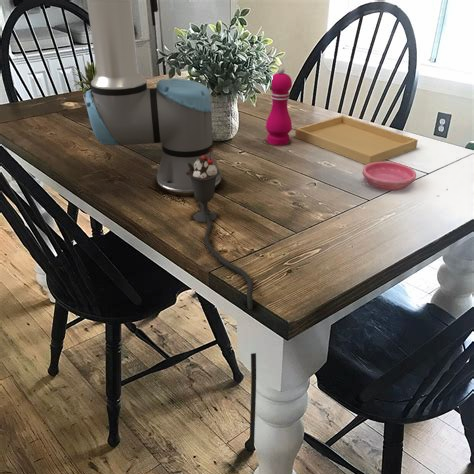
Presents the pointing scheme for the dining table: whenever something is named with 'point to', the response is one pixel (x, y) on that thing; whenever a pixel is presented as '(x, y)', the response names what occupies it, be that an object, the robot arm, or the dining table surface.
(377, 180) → the saucer
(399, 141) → the tray
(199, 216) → the sundae
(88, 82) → the house plant
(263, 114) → the dining table surface
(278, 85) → the pepper mill
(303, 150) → the dining table surface
